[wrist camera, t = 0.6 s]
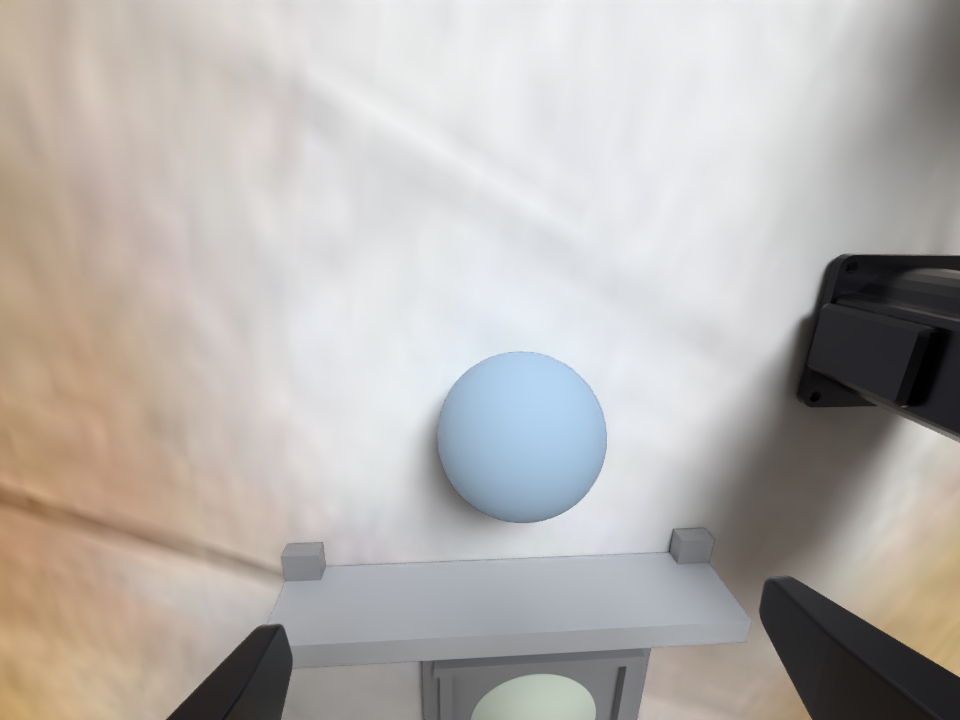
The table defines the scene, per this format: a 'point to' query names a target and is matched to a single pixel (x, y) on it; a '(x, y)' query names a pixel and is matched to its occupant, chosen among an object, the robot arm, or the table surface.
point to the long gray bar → (504, 605)
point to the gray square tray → (537, 686)
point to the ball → (522, 437)
